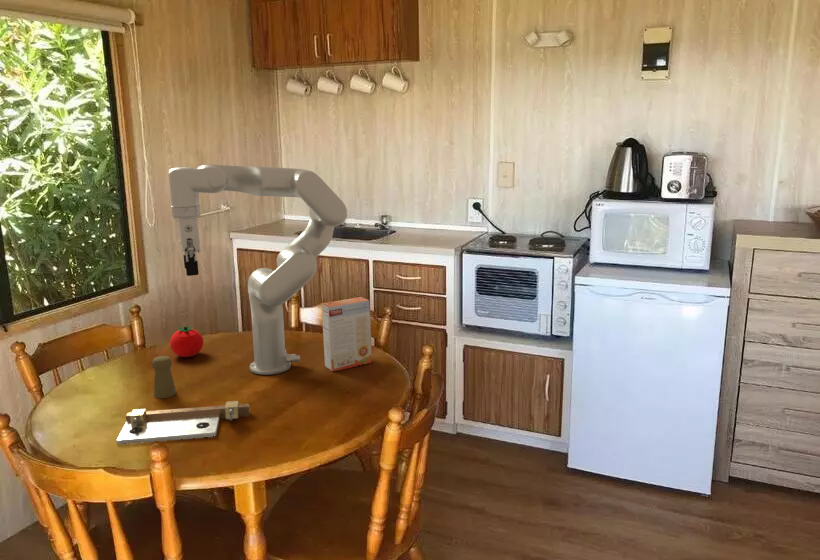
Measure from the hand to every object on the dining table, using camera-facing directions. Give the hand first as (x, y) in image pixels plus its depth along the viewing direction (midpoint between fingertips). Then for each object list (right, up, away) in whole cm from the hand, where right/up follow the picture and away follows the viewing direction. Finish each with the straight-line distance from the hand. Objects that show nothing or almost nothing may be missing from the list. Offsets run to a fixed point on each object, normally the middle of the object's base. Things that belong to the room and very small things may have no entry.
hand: (191, 271), depth 196 cm
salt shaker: (-7, -35, -2) cm, 36 cm away
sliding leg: (+17, -38, -20) cm, 46 cm away
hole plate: (+6, -40, -22) cm, 46 cm away
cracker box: (+43, -29, +19) cm, 56 cm away
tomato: (-10, -28, +28) cm, 41 cm away
